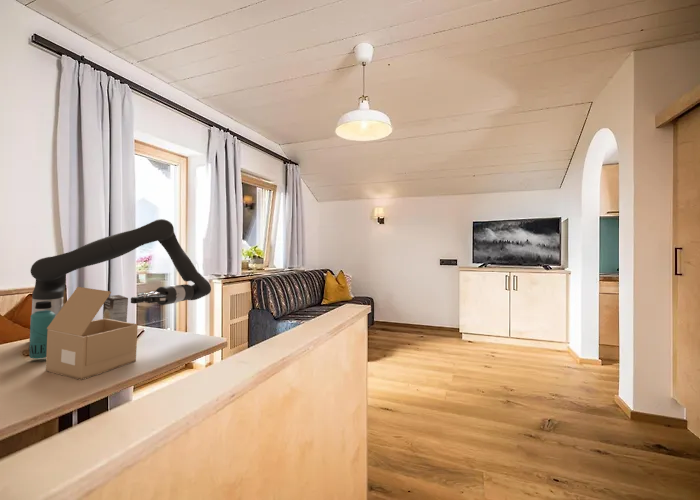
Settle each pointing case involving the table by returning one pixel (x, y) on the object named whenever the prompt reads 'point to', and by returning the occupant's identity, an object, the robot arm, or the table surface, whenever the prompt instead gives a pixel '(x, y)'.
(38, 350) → the beverage bottle
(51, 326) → the carton flap
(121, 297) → the coffee box
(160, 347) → the table surface
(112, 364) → the carton
